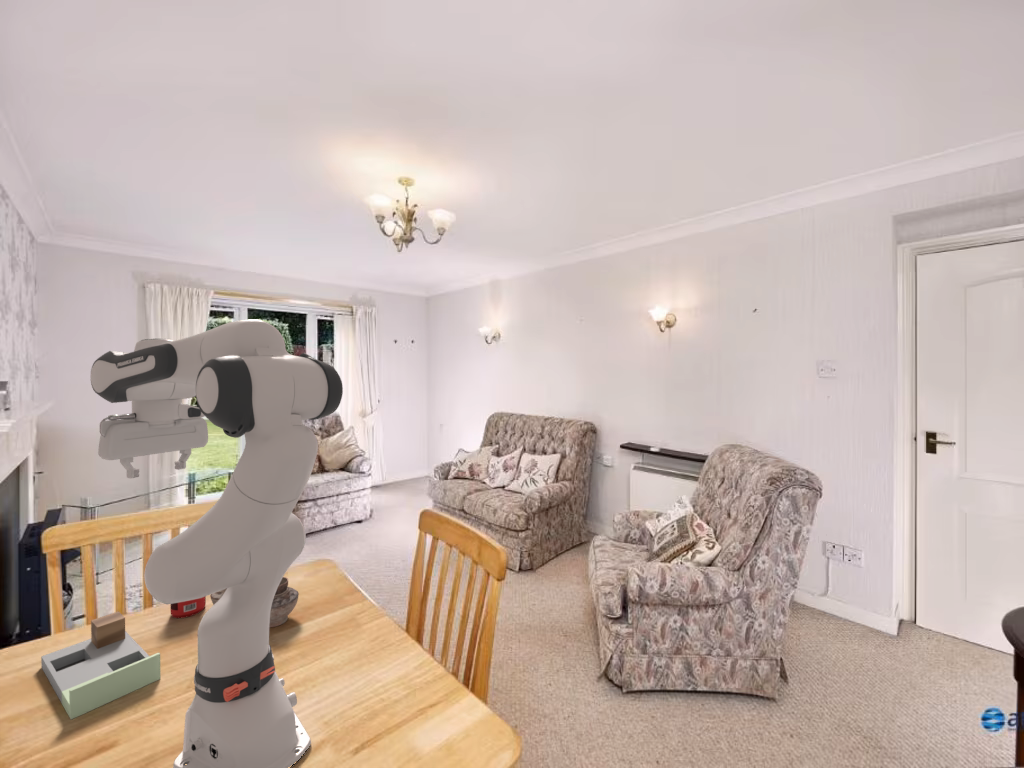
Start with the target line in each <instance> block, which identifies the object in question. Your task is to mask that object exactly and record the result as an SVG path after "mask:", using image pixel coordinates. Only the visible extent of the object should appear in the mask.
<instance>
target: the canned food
mask: <svg viewBox="0 0 1024 768" xmlns="http://www.w3.org/2000/svg"><path fill="white" fill-rule="evenodd" d="M206 597H207V596H205V597H202V598H199V599H194V600H189V601H185V602H179V603H173V604H170V615H171V617H172V618H174V619H184V618H189V617H192V616H195V615H197V614H199V613H201V612H203V610H204V609H205V607H206V603H207V601H206V600H207V599H206Z"/></svg>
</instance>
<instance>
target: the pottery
mask: <svg viewBox="0 0 1024 768" xmlns="http://www.w3.org/2000/svg"><path fill="white" fill-rule="evenodd" d="M226 590H227V588H226V589H224V590H221V591H218V592H216V593H213V594H210V595H209V596H210V597H209V598H210V600H211V603H212V604H213V605H214V604H215V603H216V602H217V601H218V600H219V599H220V598H221V597H222V596H223V594H224V593H225V591H226ZM299 595H300V593H299V591H298V590H297V589H295V588H293V587H291V586H289V578H288V577H285V576H283V578H282V580H281V582H280V584H279V586H278V588H277V591H276V593H275V596H274V599H273V602H272V606H271V612H270V625H269V628H275V627H279V626H281V625H283V624H285V623H286V622H287V621H288V619H289V617H288V616H289V615H290V614H291V613H292V611H293V610H294V609H295V607H296V605H297V603H298V602H299V601H298V600H299ZM213 605H212V606H213Z"/></svg>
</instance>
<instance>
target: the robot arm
mask: <svg viewBox="0 0 1024 768" xmlns="http://www.w3.org/2000/svg"><path fill="white" fill-rule="evenodd" d="M90 384H91V388H92V389H93V392H94V393H95V394H97V395H98V397H99V396H100V398H102V399H104V400H105V401H107V402H109V403H110V404H113V403H115V404H117V403H127V402H131V412H130V413H124V414H110V415H108V417H107V416H106V417H105V418H103V419H102V420H101V421H100V422H99V433H100V437H99V440H98V441H99V442H98V452H97V453H98V456H99V457H100V458H101V459H103V460H106V461H115V460H116V461H117V460H119V463H120V465H122V467H123V468H124V469H125V470H126V478H127V479H134V478H139V477H140V468H136V467H134V466H133V465H132V464H131V463H134V458H136V457H144V456H150V455H151V456H152V455H157V454H164V453H171V452H179V454H181V455H180V457H179V459H178V460H176V461H174V469H175V470H178V471H180V470H184V469H186V468H187V461H188V459H189V458H190V457H191V454H192V449H200V448H204V447H206V445H207V444H208V441H209V429H208V423H207V420H208V421H209V422H211V423H212V424H213V425H214V426H215V427H218V428H219V429H222V431H223V432H224V434H225V436H228V437H231V438H233V439H234V438H235V439H237V438H241V437H242V436H244V438H245V439H244V440H245V445H244V449H243V452H242V454H241V456H240V458H239V459H238V462H237V463H236V466H235V468H234V470H233V472H232V474H231V476H230V479H229V481H228V483H227V485H226V487H225V489H224V491H223V492H222V494H221V496H220V497H219V499H217V501H216V503H214V505H213V506H212V507H210V509H208V511H207V512H205V513H204V514H203V515H202V516H201V517H200V518H198V519H197V521H195V522H193V524H192V525H191V526H189V527H188V528H187V529H185V530H183V531H182V532H180V533H179V534H178V535H176V536H174V537H173V538H171V539H170V540H167V541H165V542H164V543H162V544H160V545H158V546H157V547H156V548H155V549H154V550H153V551H152V553H151V554H150V556H149V558H148V560H147V562H146V565H145V569H144V573H143V574H144V575H143V576H144V584H145V588H146V589H147V591H148V592H149V595H151V597H153V598H154V599H155V600H156V601H158V602H160V603H161V604H163V605H171V604H173V603H179V602H185V601H189V600H194V599H199V598H202V597H205V596H206V597H208V596H210V595H211V594H213V593H216V592H218V591H221V590H224V589H226V588H227V590H226V591H225V593H224V594H223V596H222V597H221V598H220V599H219V600H218V601H217V602H216V603H215V604H214V605H212V606H211V607H210V608H209V609H207V611H206V612H205V613H204V615H203V617H202V618H201V619H200V621H199V625H198V628H197V664H196V667H195V670H194V677H193V683H194V691H195V695H194V697H193V699H192V702H191V704H190V705H189V706H188V708H187V710H186V712H185V718H184V730H183V731H184V732H183V744H182V745H183V747H182V750H181V752H180V753H179V754H178V756H177V757H176V758H175V760H174V761H173V764H172V765H173V766H172V768H288V767H290V766H291V765H293V764H294V763H295V762H296V761H298V760H299V759H300V758H301V756H302V755H303V754H304V753H305V751H306V750H307V749H308V748H309V749H310V747H311V745H310V744H312V740H311V737H310V734H309V733H308V732H307V730H306V729H305V726H304V725H303V724H302V722H301V720H300V719H299V717H298V715H297V714H296V712H295V711H294V708H293V707H295V706H296V705H297V703H298V699H297V694H296V692H295V691H292V692H290V693H288V694H287V693H286V691H285V688H284V686H285V678H284V677H282V678H279V676H278V674H277V672H276V666H275V662H274V660H275V658H274V654H273V650H272V647H271V645H270V627H269V625H270V612H271V606H272V602H273V599H274V596H275V593H276V591H277V588H278V586H279V584H280V582H281V580H282V578H283V577H285V574H286V572H288V569H289V568H290V567H291V565H292V564H293V563H294V562H295V561H296V560H297V559H298V558H299V556H300V555H301V554H302V553H303V550H304V548H305V543H306V538H307V537H306V529H305V526H304V524H303V522H302V521H301V519H300V518H299V517H298V516H297V515H296V514H294V513H293V511H294V509H295V507H296V505H297V504H298V501H299V500H300V498H301V496H302V494H303V492H304V491H305V488H306V486H307V484H308V482H309V480H310V479H311V478H310V477H311V475H312V472H313V470H314V466H315V464H316V460H317V455H318V452H319V444H318V443H319V441H318V439H317V436H316V434H315V433H314V431H313V430H312V429H311V428H309V427H308V425H306V424H303V421H306V420H309V421H310V420H311V421H314V420H319V419H322V418H326V417H328V416H330V415H332V414H334V412H336V410H338V408H339V406H340V404H341V402H342V399H343V392H344V390H343V389H344V388H343V381H342V379H341V376H340V375H339V373H338V371H337V370H336V369H335V368H334V367H333V366H332V365H330V364H328V363H326V362H324V361H322V360H319V359H317V358H315V357H312V355H309V354H307V353H305V352H303V353H301V354H299V355H294V354H291V353H289V352H288V351H287V349H286V342H285V339H284V337H283V335H282V334H281V332H280V331H279V329H277V328H276V327H275V326H273V325H272V324H270V323H269V322H266V321H264V320H260V319H243V320H235V321H230V322H227V323H223V324H220V325H218V326H217V327H214V328H211V329H208V330H206V331H203V332H200V333H197V334H194V335H191V336H188V337H184V338H180V339H176V340H173V339H171V338H146V339H145V338H144V339H141V340H139V341H137V342H136V343H135V346H134V350H133V351H131V352H124V351H116V350H109V351H107V352H105V353H104V354H102V355H100V356H99V357H98V358H96V360H95V361H93V363H92V366H91V369H90ZM191 398H196V403H197V406H194V405H191V404H186V403H183V400H186V399H191ZM204 417H206V419H207V420H206V419H204ZM309 746H310V747H309ZM309 749H308V750H309ZM308 750H307V751H308ZM297 752H298V753H297ZM305 754H306V753H305ZM305 754H304V755H305ZM301 759H302V758H301ZM301 759H300V760H301ZM300 760H299V761H300ZM299 761H298V762H299ZM185 764H187V765H185ZM293 766H294V765H293Z"/></svg>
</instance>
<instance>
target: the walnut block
mask: <svg viewBox="0 0 1024 768" xmlns="http://www.w3.org/2000/svg"><path fill="white" fill-rule="evenodd" d="M90 631H91V632H90V637H91V638H90V639H91V641H92V643H93V644H94V645H95V646H96V648H97V649H99V648H101V647H104V646H107V645H109V644H112V643H115V642H117V641H120V640H123V639H125V631H126V617H125V616H124V615H123V614H122V613H121V612H120V611H119V610H117V611H116V612H113V613H109V614H106V615H103V616H100V617H97V618H95V619H91V621H90Z"/></svg>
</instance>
